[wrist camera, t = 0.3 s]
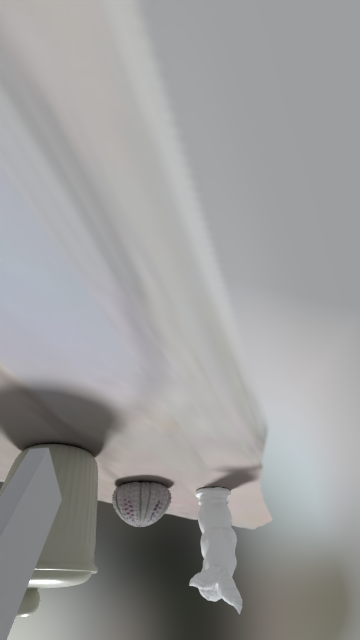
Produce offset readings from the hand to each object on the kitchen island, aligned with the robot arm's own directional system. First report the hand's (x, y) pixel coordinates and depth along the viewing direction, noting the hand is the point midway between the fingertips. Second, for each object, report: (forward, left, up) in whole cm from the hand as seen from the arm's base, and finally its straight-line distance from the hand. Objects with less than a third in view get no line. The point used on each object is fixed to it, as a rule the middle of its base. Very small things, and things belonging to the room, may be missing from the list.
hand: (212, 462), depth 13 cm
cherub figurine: (+72, -2, -15) cm, 73 cm away
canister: (+42, -27, -15) cm, 52 cm away
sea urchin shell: (+67, -17, -15) cm, 70 cm away
